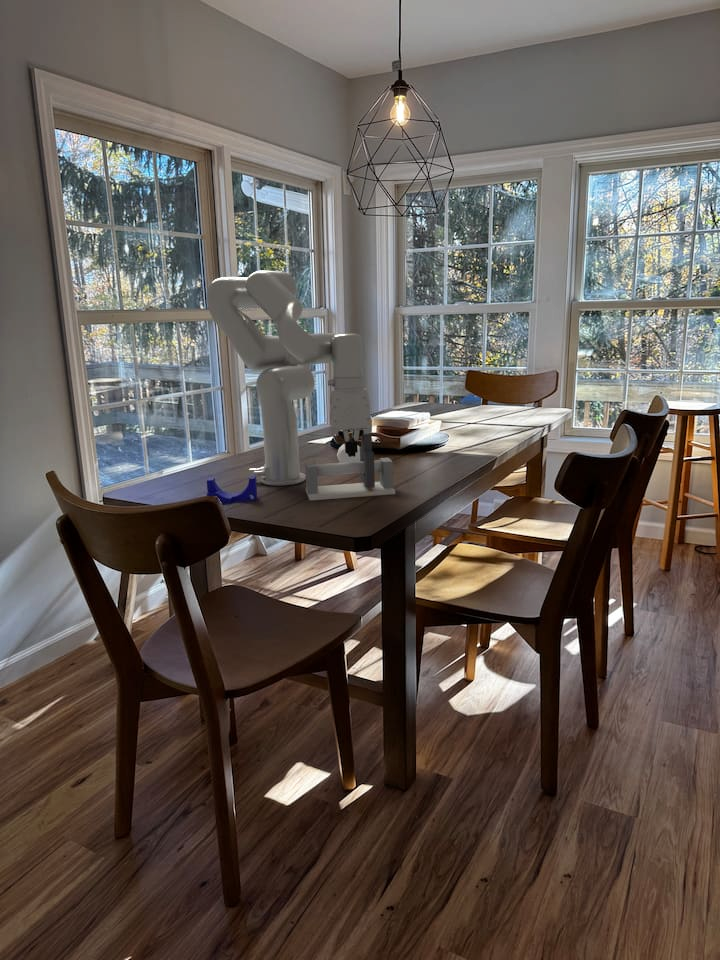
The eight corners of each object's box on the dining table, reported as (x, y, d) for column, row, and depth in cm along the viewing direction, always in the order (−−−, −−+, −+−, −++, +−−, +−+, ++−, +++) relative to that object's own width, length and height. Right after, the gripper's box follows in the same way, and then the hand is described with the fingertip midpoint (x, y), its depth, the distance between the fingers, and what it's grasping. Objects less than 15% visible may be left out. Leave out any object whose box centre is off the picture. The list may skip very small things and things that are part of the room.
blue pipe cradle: (207, 505, 168) (205, 481, 166) (210, 500, 172) (208, 477, 171) (255, 503, 168) (254, 479, 167) (257, 498, 173) (256, 475, 171)
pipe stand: (309, 500, 168) (308, 469, 166) (305, 490, 178) (304, 460, 176) (395, 493, 172) (394, 463, 170) (386, 484, 181) (386, 455, 179)
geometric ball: (354, 474, 206) (367, 452, 206) (353, 471, 198) (367, 448, 198) (333, 462, 206) (346, 440, 207) (331, 458, 198) (345, 435, 199)
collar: (367, 487, 170) (365, 437, 167) (360, 479, 179) (359, 431, 176) (374, 487, 171) (373, 437, 168) (368, 479, 179) (366, 431, 176)
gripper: (320, 387, 163) (324, 460, 168) (381, 383, 166) (383, 456, 170) (317, 384, 170) (320, 455, 175) (375, 381, 173) (377, 451, 177)
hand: (351, 455), depth 172 cm, fingers closed
